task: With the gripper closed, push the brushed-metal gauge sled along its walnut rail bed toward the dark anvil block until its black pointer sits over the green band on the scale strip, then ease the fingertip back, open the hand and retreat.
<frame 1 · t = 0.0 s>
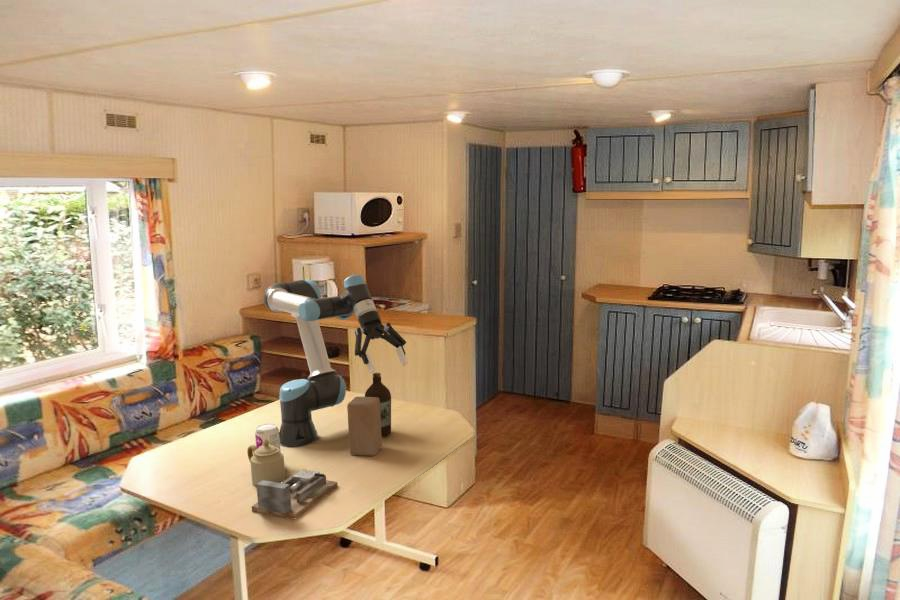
hand: (389, 368, 235), 36 cm above the table, tool tilted 35°, fingers open, 13 cm apart
supplement can: (269, 467, 243), on the table
gauge sled: (306, 482, 219), point 4 cm above the table, slide at 0.0 cm
gauge bed: (296, 498, 218), on the table
block: (366, 451, 255), on the table
olive oil: (379, 434, 273), on the table
sugar bowl: (263, 480, 232), on the table
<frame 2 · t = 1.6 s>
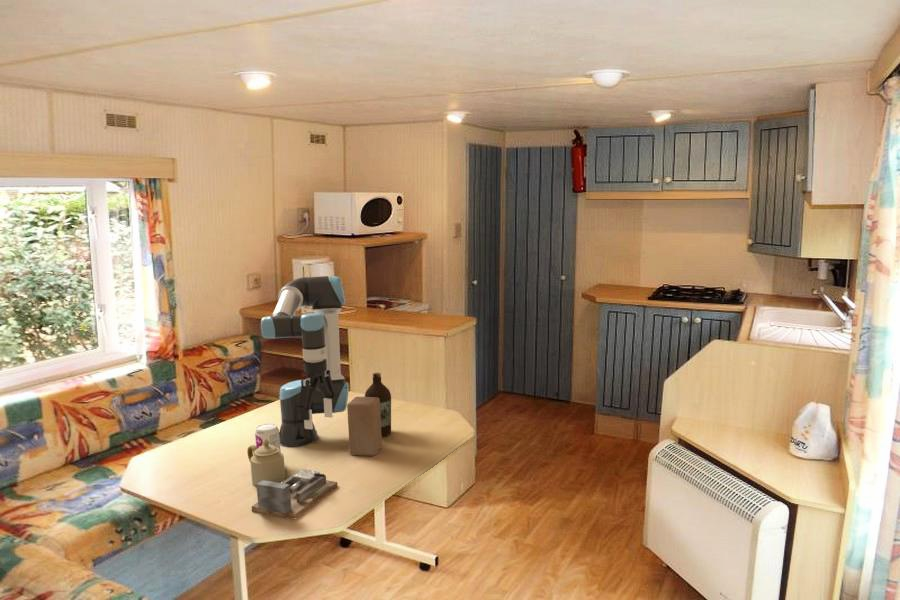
hand: (318, 422, 228), 20 cm above the table, tool pointing down, fingers open, 11 cm apart
nothing on the table moved.
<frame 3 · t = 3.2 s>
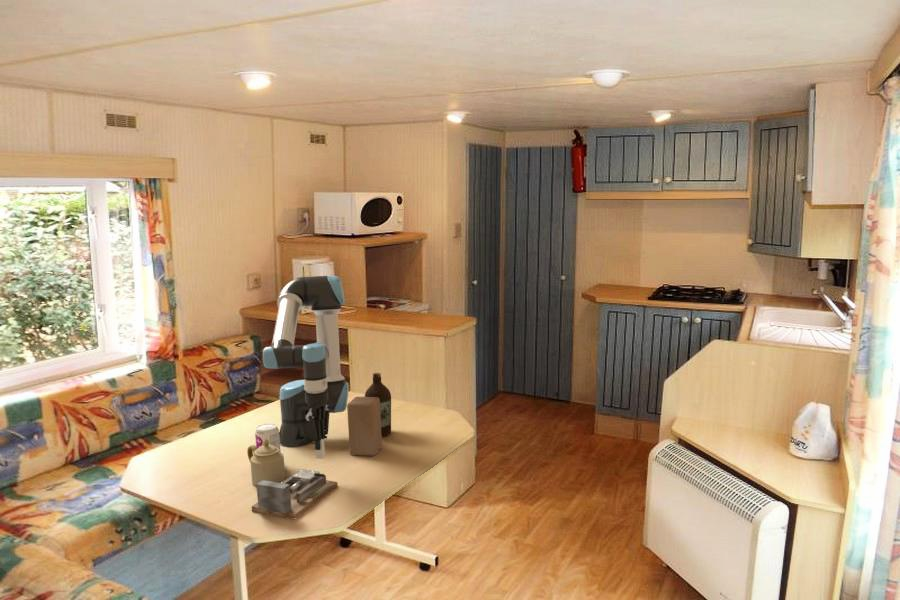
hand: (320, 457, 230), 8 cm above the table, tool pointing down, fingers closed
nothing on the table moved.
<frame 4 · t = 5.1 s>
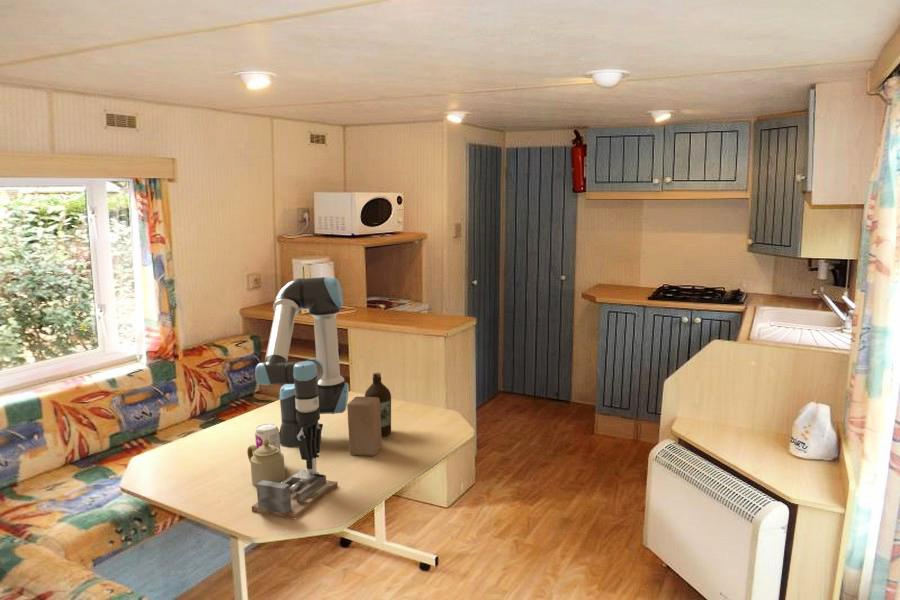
hand: (312, 476, 226), 3 cm above the table, tool pointing down, fingers closed
gauge sled: (305, 483, 219), point 4 cm above the table, slide at 0.4 cm, touching gripper
everything else where it was.
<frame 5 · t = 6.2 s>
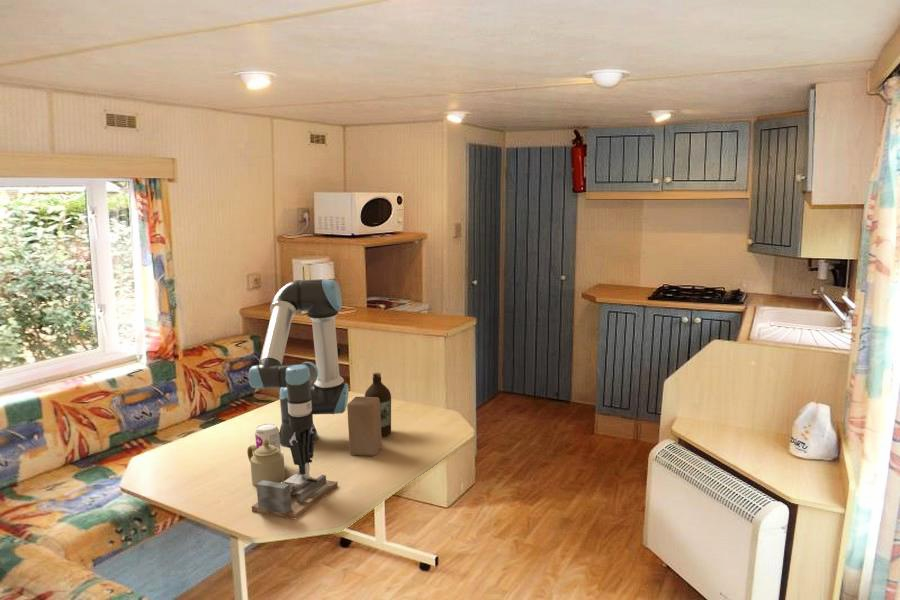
hand: (305, 482, 222), 3 cm above the table, tool pointing down, fingers closed
gauge sled: (298, 488, 215), point 4 cm above the table, slide at 4.4 cm, touching gripper
everything else where it was.
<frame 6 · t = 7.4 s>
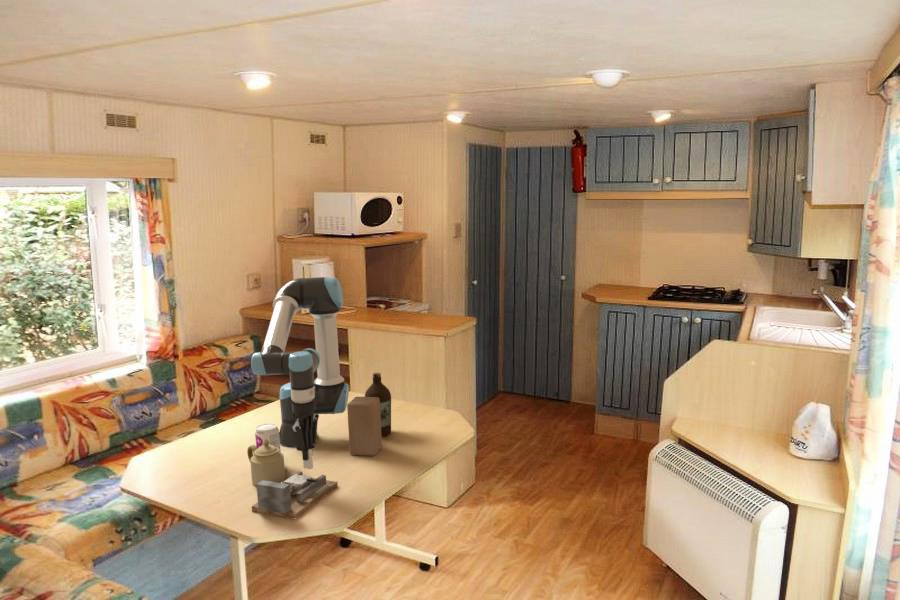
hand: (308, 467, 224), 7 cm above the table, tool pointing down, fingers closed
gauge sled: (298, 488, 215), point 4 cm above the table, slide at 4.4 cm
everything else where it was.
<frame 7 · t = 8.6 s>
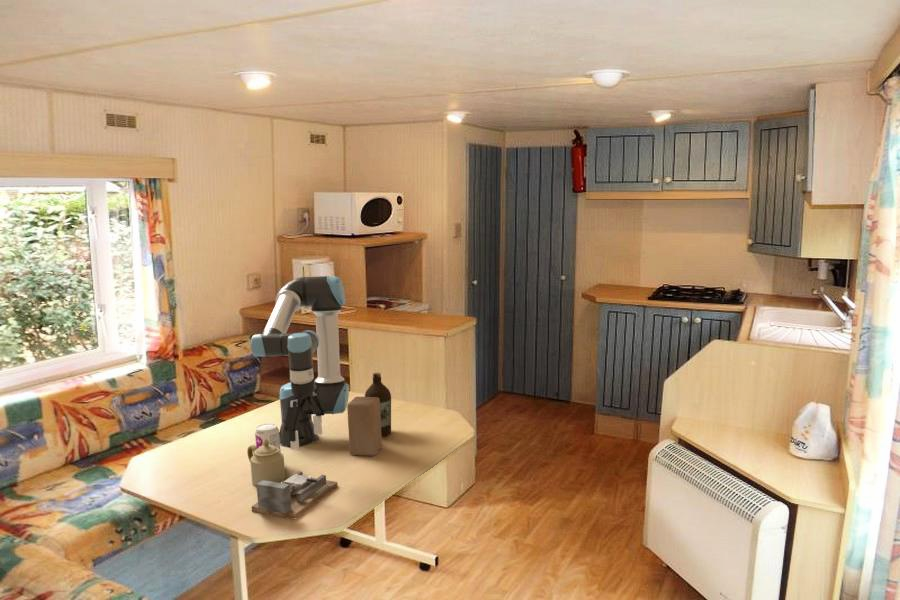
hand: (307, 441, 225), 15 cm above the table, tool pointing down, fingers open, 13 cm apart
nothing on the table moved.
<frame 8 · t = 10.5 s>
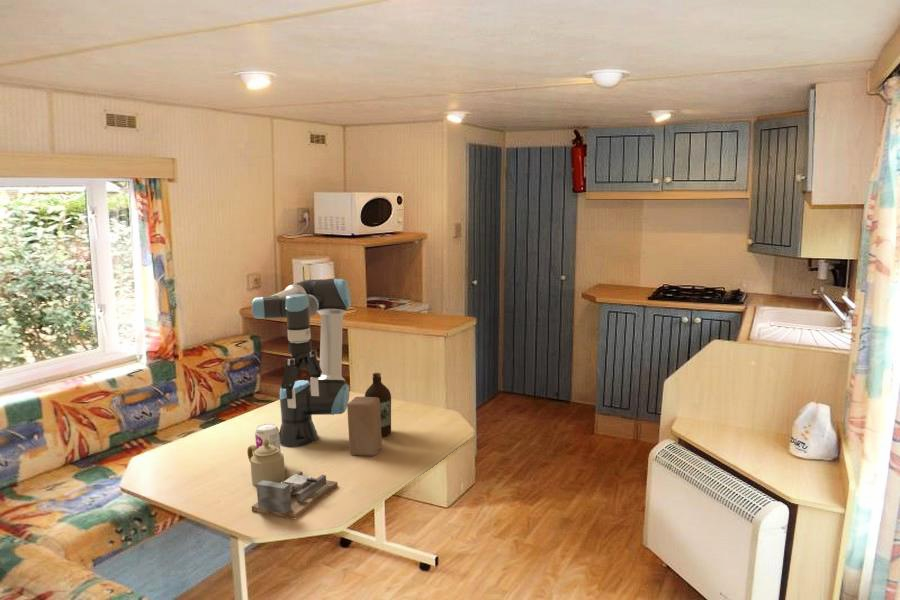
hand: (303, 401, 230), 27 cm above the table, tool pointing down, fingers open, 13 cm apart
nothing on the table moved.
at the end: gauge sled slide at 4.4 cm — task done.
